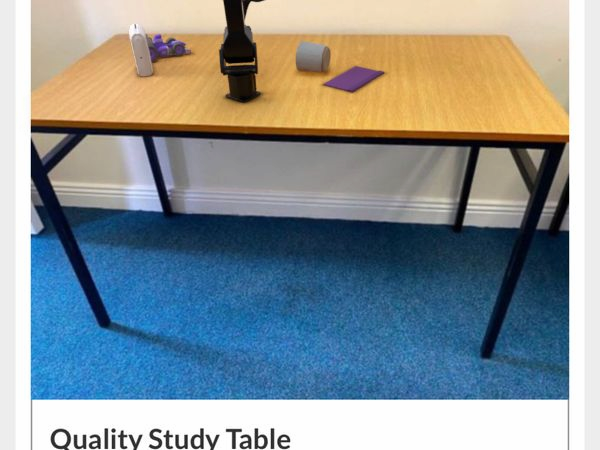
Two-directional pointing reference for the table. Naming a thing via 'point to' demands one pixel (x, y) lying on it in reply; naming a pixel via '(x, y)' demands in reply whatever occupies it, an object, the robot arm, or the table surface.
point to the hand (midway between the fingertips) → (241, 25)
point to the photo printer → (140, 50)
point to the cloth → (353, 79)
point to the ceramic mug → (312, 57)
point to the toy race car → (165, 47)
